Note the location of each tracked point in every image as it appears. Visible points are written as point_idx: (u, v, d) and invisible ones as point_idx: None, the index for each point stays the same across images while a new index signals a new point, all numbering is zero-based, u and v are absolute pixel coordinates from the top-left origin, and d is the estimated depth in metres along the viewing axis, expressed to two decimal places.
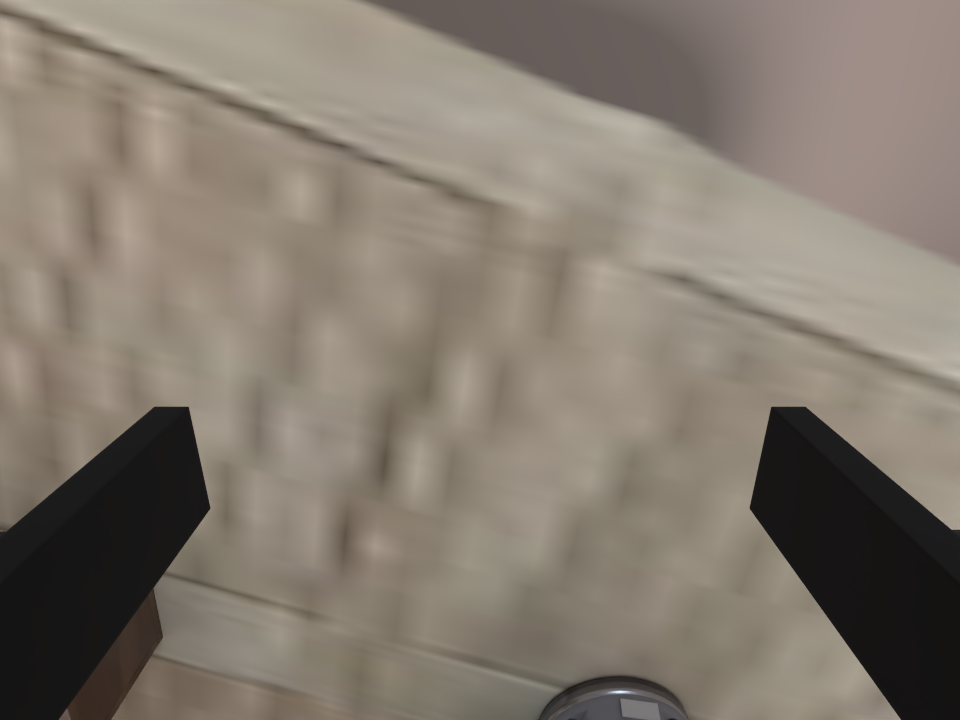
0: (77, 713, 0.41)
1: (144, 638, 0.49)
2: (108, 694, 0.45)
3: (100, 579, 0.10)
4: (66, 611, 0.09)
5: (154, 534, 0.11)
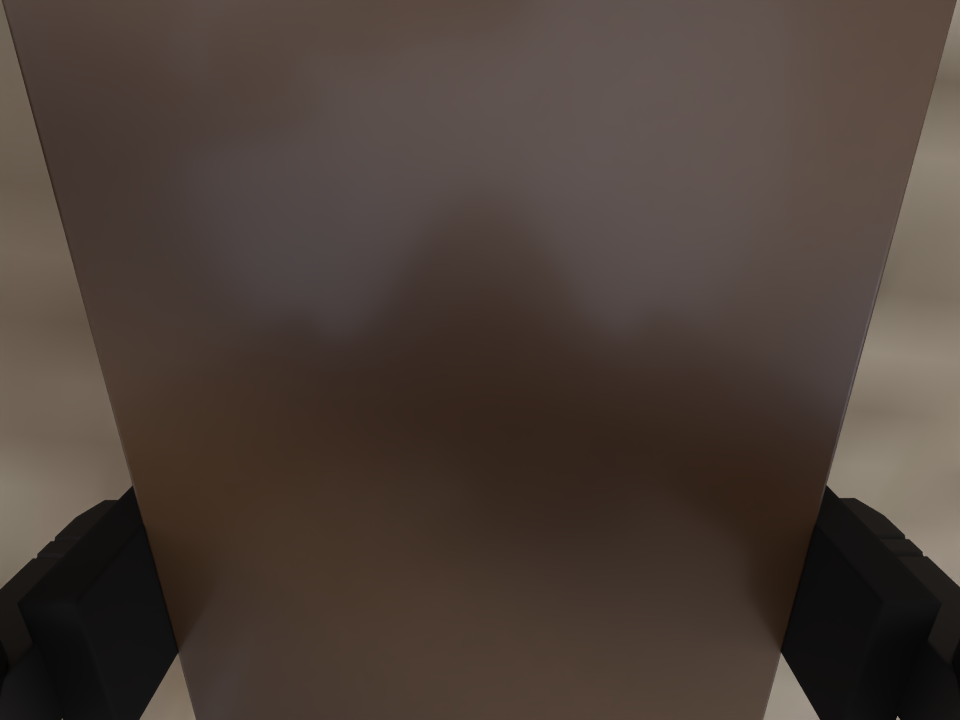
0: None
1: None
2: None
3: None
4: None
5: None
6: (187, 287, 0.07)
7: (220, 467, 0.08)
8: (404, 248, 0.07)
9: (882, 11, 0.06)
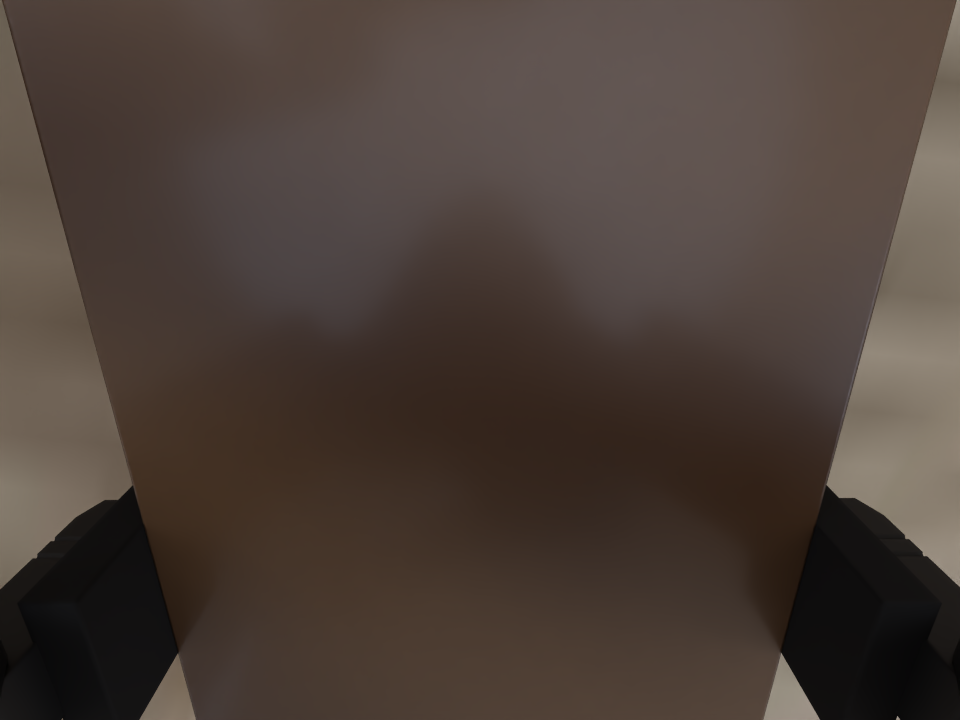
0: None
1: None
2: None
3: None
4: None
5: None
6: (187, 287, 0.07)
7: (220, 467, 0.08)
8: (404, 248, 0.07)
9: (881, 11, 0.06)
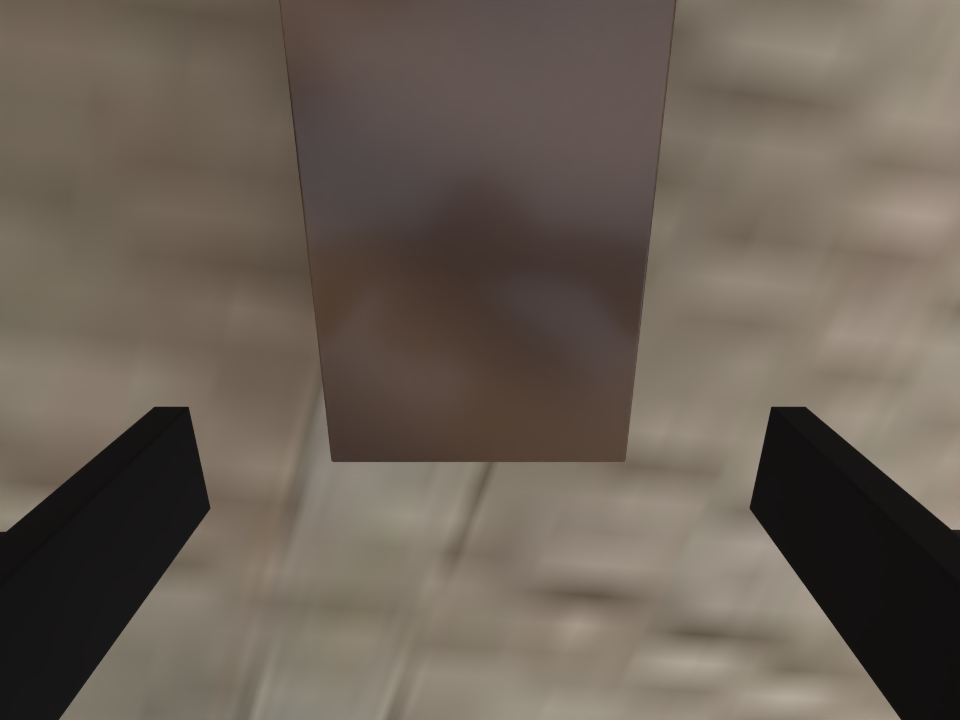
0: None
1: None
2: None
3: (100, 579, 0.10)
4: (66, 611, 0.09)
5: (154, 534, 0.11)
6: (349, 198, 0.17)
7: (355, 288, 0.18)
8: (445, 180, 0.16)
9: (638, 81, 0.15)
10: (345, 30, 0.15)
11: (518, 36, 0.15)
